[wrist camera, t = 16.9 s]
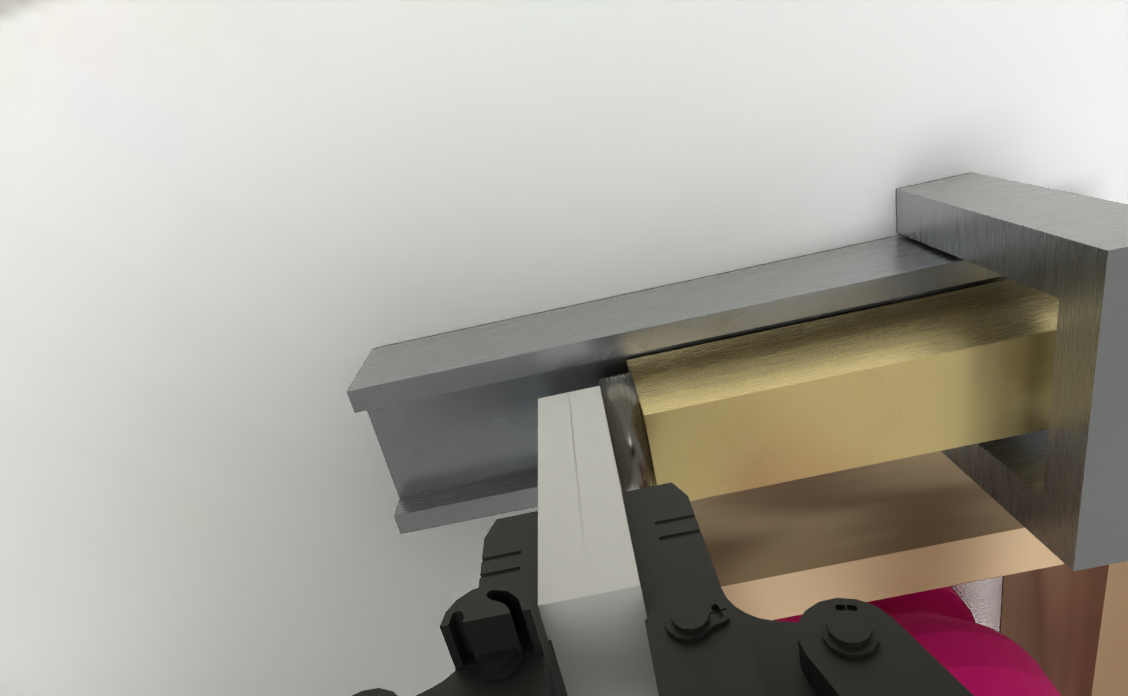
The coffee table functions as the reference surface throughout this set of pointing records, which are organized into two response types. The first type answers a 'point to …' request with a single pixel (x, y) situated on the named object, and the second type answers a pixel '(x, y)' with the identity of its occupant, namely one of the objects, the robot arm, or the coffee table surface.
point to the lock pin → (836, 392)
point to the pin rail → (783, 298)
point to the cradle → (917, 560)
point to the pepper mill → (965, 644)
